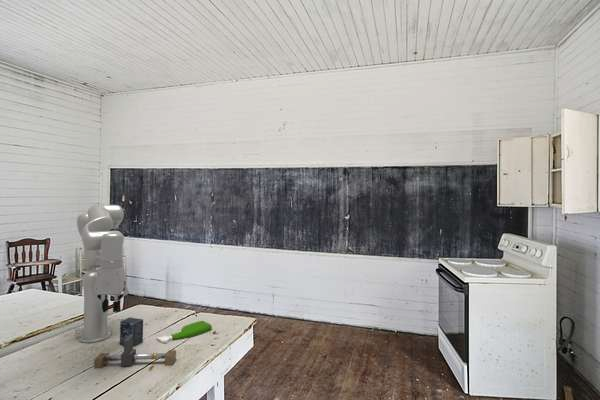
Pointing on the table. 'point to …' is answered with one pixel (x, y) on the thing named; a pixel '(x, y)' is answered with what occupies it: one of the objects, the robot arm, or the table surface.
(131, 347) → the collar
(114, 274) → the robot arm
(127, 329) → the box
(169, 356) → the rod with tan block
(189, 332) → the spray bottle
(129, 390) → the table surface
